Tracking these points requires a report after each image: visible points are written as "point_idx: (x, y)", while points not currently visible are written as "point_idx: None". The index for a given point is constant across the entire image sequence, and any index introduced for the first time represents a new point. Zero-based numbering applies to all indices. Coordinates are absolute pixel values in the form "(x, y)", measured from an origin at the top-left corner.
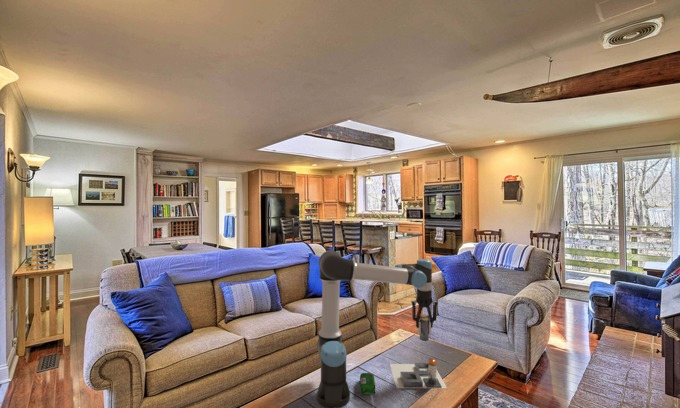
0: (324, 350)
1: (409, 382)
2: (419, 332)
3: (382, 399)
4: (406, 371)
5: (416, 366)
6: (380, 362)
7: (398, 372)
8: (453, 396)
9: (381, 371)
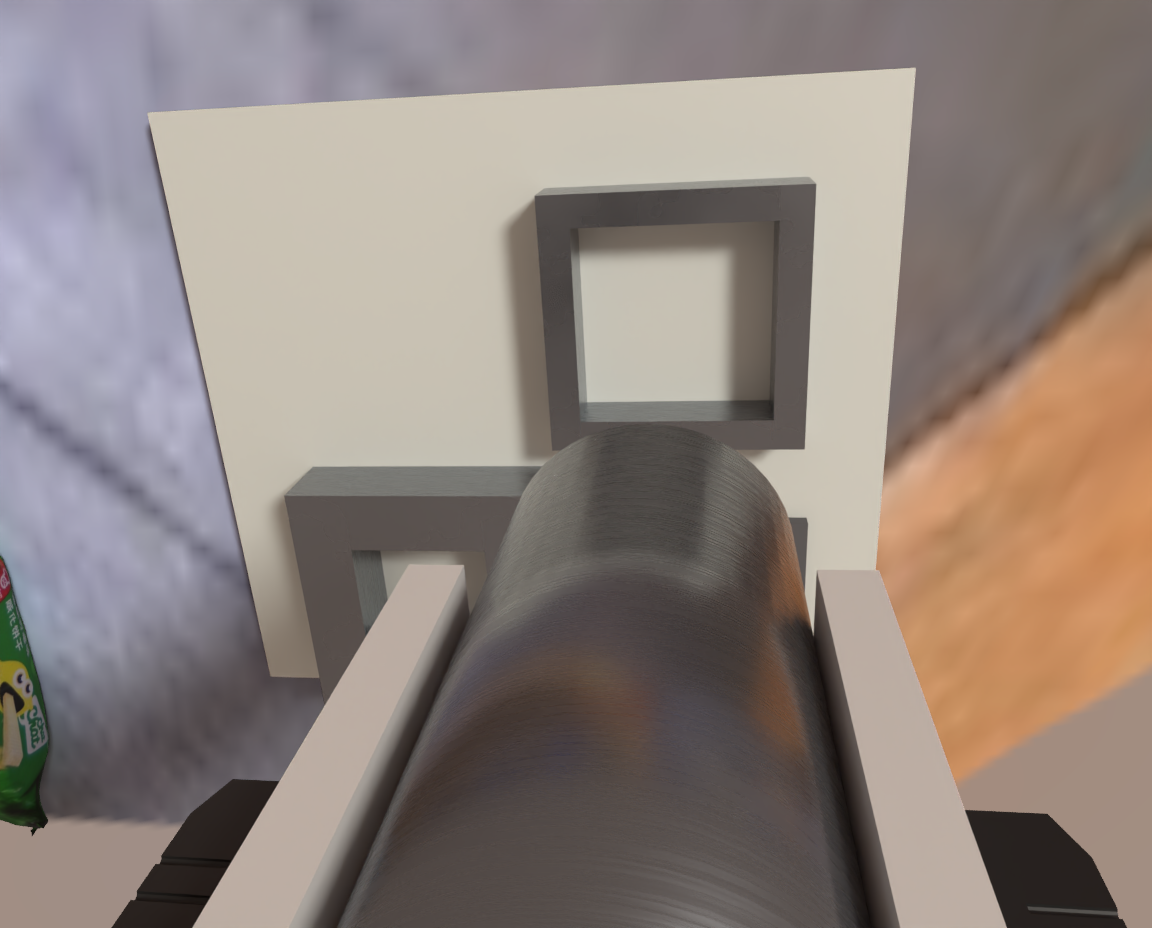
0: None
1: None
2: None
3: (149, 789)
4: (403, 334)
5: (549, 307)
6: (8, 18)
7: (288, 362)
8: None
9: (66, 295)
